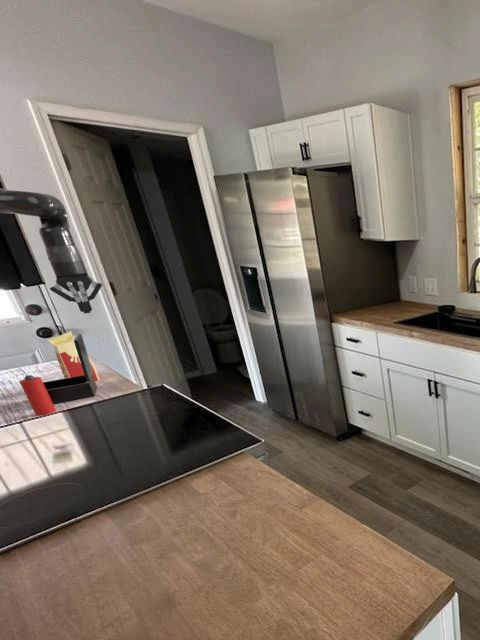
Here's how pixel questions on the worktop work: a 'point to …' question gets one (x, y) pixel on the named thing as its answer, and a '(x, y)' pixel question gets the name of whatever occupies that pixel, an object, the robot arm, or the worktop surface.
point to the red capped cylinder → (37, 395)
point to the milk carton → (69, 356)
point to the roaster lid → (83, 357)
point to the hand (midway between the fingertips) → (87, 312)
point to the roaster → (70, 389)
